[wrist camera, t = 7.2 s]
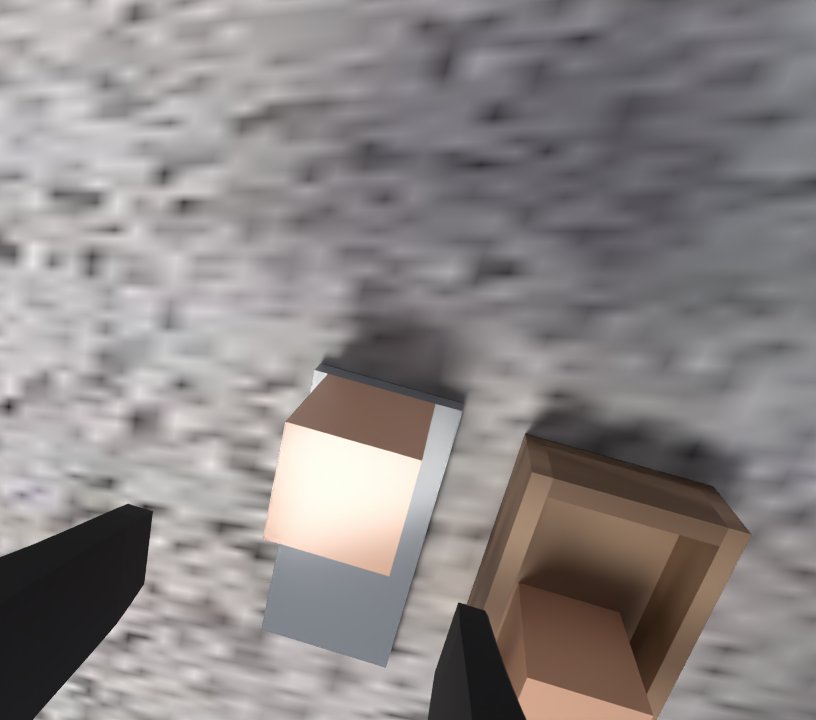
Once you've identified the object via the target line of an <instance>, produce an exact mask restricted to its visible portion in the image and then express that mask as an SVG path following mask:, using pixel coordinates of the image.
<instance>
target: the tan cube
mask: <svg viewBox="0 0 816 720" xmlns="http://www.w3.org/2000/svg"><path fill="white" fill-rule="evenodd" d="M434 407H435V404H434V403H431V402H427V401H423V400H420V399H416V398H413V397H409V396H406V395H402V394H398V393H395V392H391V391H388V390H384V389H381V388H377V387H373V386H370V385H366V384H363V383H359V382H356V381H352V380H348V379H345V378H341V377H338V376H334V375H331V374H327V375H326V376H325V378H324V379H323V380H322V381H321V382H320V383H319V384H318V385H317V387H316V388H315V389H314V390H313V391H312V392H311V393H310V395H309V396H308V397H307V398H306V399H305V400H304V401H303V403H302V404H301V405H300V406H299V407H298V408H297V409H296V410H295V412H294V413H293V414H292V415H291V416H290V417H289V418H288V420H287V421H286V422H285V427H284V432H283V438H282V443H281V448H280V453H279V458H278V463H277V469H276V474H275V479H274V484H273V489H272V494H271V500H270V505H269V510H268V515H267V520H266V525H265V530H264V536H263V539H265V540H269V541H272V542H276V543H279V544H282V545H286V546H289V547H292V548H296V549H299V550H302V551H306V552H309V553H312V554H316V555H319V556H322V557H326V558H329V559H333V560H336V561H339V562H343V563H346V564H349V565H353V566H356V567H359V568H363V569H366V570H369V571H373V572H376V573H380V574H383V575H386V576H390V572H391V569H392V565H393V561H394V558H395V554H396V551H397V547H398V544H399V540H400V537H401V533H402V530H403V526H404V523H405V519H406V516H407V512H408V509H409V505H410V502H411V498H412V494H413V491H414V487H415V484H416V480H417V477H418V473H419V470H420V466H421V463H422V459H423V455H424V450H425V446H426V442H427V437H428V433H429V429H430V424H431V420H432V416H433V412H434Z"/></svg>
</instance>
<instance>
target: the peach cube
mask: <svg viewBox="0 0 816 720" xmlns="http://www.w3.org/2000/svg"><path fill="white" fill-rule="evenodd" d="M496 642H497V645H498V648H499V651H500V654H501V657H502V660H503V663H504V665H505V668H506V671H507V673H508V676H509V679H510V681H511V684H512V686H513V688H514V691H515V693H516V696H517V698H518V701H519V703H520V706H521V708H522V710H523V713H524V715H525V717H526V719H527V720H652V718H653V713H652V710H651V707H650V704H649V700H648V697H647V694H646V691H645V688H644V685H643V682H642V679H641V676H640V673H639V670H638V667H637V664H636V661H635V658H634V655H633V652H632V649H631V646H630V643H629V640H628V637H627V633H626V630H625V627H624V624H623V621H622V618H621V615H620V612H616V611H613V610H610V609H606V608H603V607H599V606H596V605H593V604H589V603H586V602H583V601H579V600H576V599H572V598H569V597H566V596H562V595H559V594H555V593H552V592H549V591H545V590H542V589H539V588H535V587H532V586H528V585H525V584H522V583H518V585H517V588H516V590H515V593H514V596H513V598H512V601H511V604H510V607H509V609H508V612H507V615H506V617H505V620H504V623H503V625H502V628H501V631H500V633H499V636H498V639H497V641H496Z"/></svg>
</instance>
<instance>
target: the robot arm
mask: <svg viewBox="0 0 816 720" xmlns="http://www.w3.org/2000/svg"><path fill="white" fill-rule="evenodd" d="M152 514H153V511H150V510H147V509H143V508H140V507H137V506H133V505H130V504H126V505H124V506H121V507H119V508H116V509H114V510H112V511H109V512H107V513H105V514H102V515H100V516H98V517H96V518H93V519H91V520H89V521H87V522H84V523H82V524H80V525H78V526H75V527H73V528H71V529H68V530H66V531H64V532H61V533H59V534H57V535H54V536H52V537H50V538H47V539H45V540H43V541H40V542H38V543H36V544H33V545H31V546H28V547H25V548H23V549H20V550H18V551H15V552H13V553H10V554H7V555H5V556H2V557H0V720H33V719H34V718H35V716H36V715H37V714H38V713H39V712H40V711H41V710H42V708H43V707H44V706H45V705H46V704H47V703H48V702H49V701H50V699H51V698H52V697H53V696H54V695H55V694H56V693H57V691H58V690H59V689H60V688H61V687H62V686H63V685H64V684H65V682H66V681H67V680H68V679H69V678H70V677H71V676H72V674H73V673H74V672H75V671H76V670H77V669H78V668H79V667H80V665H81V664H82V663H83V662H84V661H85V660H86V659H87V658H88V656H89V655H90V654H91V653H92V652H93V651H94V649H95V648H96V647H97V646H98V645H99V644H100V643H101V641H102V640H103V639H104V638H105V637H106V636H107V635H108V633H109V632H110V631H111V630H112V629H113V627H114V626H115V625H116V624H117V622H118V621H119V620H120V618H121V617H122V615H123V614H124V613H125V611H126V610H127V608H128V607H129V606H130V604H131V603H132V601H133V600H134V598H135V597H136V595H137V594H138V592H139V591H140V589H141V588H142V586H143V585H144V581H145V573H146V564H147V556H148V547H149V539H150V531H151V522H152ZM428 720H527V719H526V717H525V715H524V713H523V710H522V708H521V706H520V703H519V701H518V698H517V696H516V693H515V691H514V688H513V686H512V684H511V681H510V679H509V676H508V673H507V671H506V668H505V665H504V663H503V660H502V657H501V654H500V651H499V648H498V645H497V642H496V639H495V636H494V633H493V630H492V627H491V623H490V620H489V616H488V615H487V613H486V611H485V610H482V609H479V608H475V607H472V606H469V605H465V604H462V603H459V602H458V605H457V608H456V611H455V614H454V617H453V620H452V623H451V626H450V629H449V632H448V635H447V638H446V641H445V644H444V647H443V650H442V653H441V656H440V659H439V662H438V665H437V668H436V671H435V675H434V681H433V688H432V695H431V701H430V708H429V715H428Z"/></svg>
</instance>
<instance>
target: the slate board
mask: <svg viewBox="0 0 816 720" xmlns="http://www.w3.org/2000/svg"><path fill="white" fill-rule="evenodd" d="M327 374H331V375H334V376H338V377H341V378H345V379H348V380H352V381H356V382H359V383H363V384H366V385H370V386H373V387H377V388H381V389H384V390H388V391H391V392H395V393H398V394H402V395H406V396H409V397H413V398H416V399H420V400H423V401H427V402H431V403H434V404H435V407H434V412H433V416H432V420H431V424H430V429H429V433H428V437H427V442H426V446H425V450H424V455H423V459H422V463H421V466H420V470H419V473H418V477H417V480H416V484H415V487H414V491H413V494H412V498H411V502H410V505H409V509H408V512H407V516H406V519H405V523H404V526H403V530H402V533H401V537H400V540H399V544H398V547H397V551H396V554H395V558H394V561H393V565H392V569H391V572H390V576H386V575H383V574H380V573H376V572H373V571H369V570H366V569H363V568H359V567H356V566H353V565H349V564H346V563H343V562H339V561H336V560H333V559H329V558H326V557H322V556H319V555H316V554H312V553H309V552H306V551H302V550H299V549H296V548H292V547H289V546H286V545H282V544H279V546H278V551H277V556H276V561H275V565H274V570H273V575H272V580H271V585H270V590H269V595H268V600H267V605H266V609H265V614H264V619H263V624H262V630H265V631H268V632H272V633H275V634H278V635H281V636H285V637H288V638H291V639H294V640H298V641H301V642H304V643H308V644H311V645H314V646H317V647H321V648H324V649H327V650H330V651H334V652H337V653H340V654H343V655H347V656H350V657H353V658H356V659H360V660H363V661H366V662H369V663H373V664H376V665H379V666H382V667H386V665H387V662H388V659H389V655H390V652H391V649H392V645H393V642H394V639H395V635H396V632H397V628H398V625H399V622H400V618H401V615H402V612H403V608H404V605H405V602H406V598H407V595H408V592H409V588H410V585H411V582H412V578H413V575H414V572H415V568H416V565H417V562H418V558H419V555H420V552H421V548H422V545H423V542H424V538H425V535H426V532H427V528H428V525H429V522H430V518H431V515H432V512H433V508H434V505H435V502H436V498H437V495H438V492H439V488H440V485H441V482H442V478H443V475H444V472H445V468H446V465H447V462H448V458H449V455H450V452H451V448H452V445H453V442H454V438H455V435H456V432H457V428H458V425H459V421H460V418H461V415H462V411H463V403H460V402H456V401H453V400H449V399H445V398H442V397H438V396H435V395H431V394H428V393H424V392H420V391H417V390H413V389H410V388H406V387H402V386H399V385H395V384H392V383H388V382H385V381H381V380H377V379H374V378H370V377H367V376H363V375H359V374H356V373H352V372H349V371H345V370H342V369H338V368H334V367H331V366H327V365H324V364H320V365H319V366H318V367H317V368H316V369H315V370H314V375H313V380H312V385H311V390H310V393H311V392H312V391H313V390H314V389H315V388H316V387H317V385H318V384H319V383H320V382H321V381H322V380H323V379H324V378H325V376H326V375H327Z"/></svg>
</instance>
